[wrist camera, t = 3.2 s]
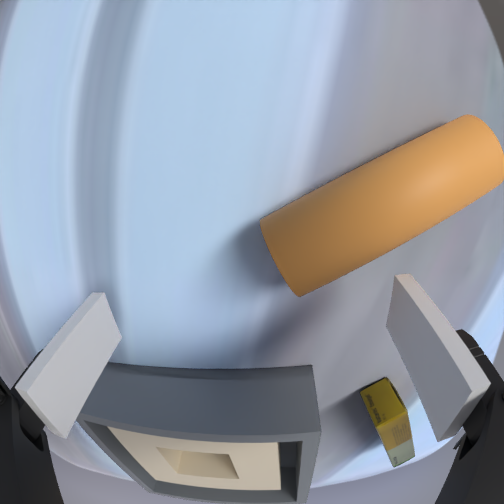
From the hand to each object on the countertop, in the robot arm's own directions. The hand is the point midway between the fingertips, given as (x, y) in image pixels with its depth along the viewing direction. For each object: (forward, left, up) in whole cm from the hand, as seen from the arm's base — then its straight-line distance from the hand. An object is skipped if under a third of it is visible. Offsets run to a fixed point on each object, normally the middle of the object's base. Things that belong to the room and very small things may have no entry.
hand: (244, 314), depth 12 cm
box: (+16, -5, -4) cm, 17 cm away
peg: (-2, +2, -2) cm, 3 cm away
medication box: (+16, +11, -4) cm, 20 cm away
